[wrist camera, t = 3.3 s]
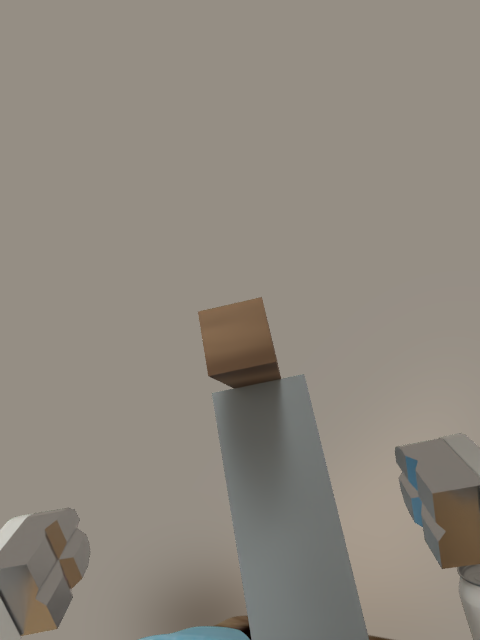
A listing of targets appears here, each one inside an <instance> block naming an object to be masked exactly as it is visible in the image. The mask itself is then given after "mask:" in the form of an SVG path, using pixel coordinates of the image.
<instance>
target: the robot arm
mask: <svg viewBox="0 0 480 640" xmlns="http://www.w3.org/2000/svg"><path fill="white" fill-rule="evenodd" d="M395 456H396V462H397V464H398V465H399V467H400V468H401V470H402V473H401V475H400V477H399V482H400V487H401V492H402V495H403V498H404V502H405V504H406V506H407V508H408V511H409V513H410V515H411V517H412V518H413V520H414V522H415V523H417V524H419V525H420V526H422V527H423V531H424V537H425V541H426V543H427V544H428V546H429V548H430V549H431V551H432V553H433V554H434V556H435V558H436V560H437V561H438V563H439V565H440V566H441V568H442V569H445V568H452V567H461V566H469V565H477V564H480V447H478V446H477V445H476V444H475V443H474V442H473V441H472V440H471V439H469V438H468V437H467V436H466V435H465V434H462V433H459V434H454V435H449V436H444V437H440V438H439V439H434V440H429V441H424V442H418V443H413V444H408V445H403V446H398V447H396V448H395ZM79 521H80V519H79V517H78V515H77V513H76V511H75V509H71V508H64V509H58V510H51V511H45V512H39V513H34V514H28V515H23V516H17V517H15V518H12V519H10V520H9V521H8V522H7V523H6V524H5V525H4V527H3V528H2V529H1V530H0V640H20V639H21V636H23V635H29V634H34V633H38V632H43V631H49V630H54V629H57V628H58V627H59V625H60V623H61V621H62V619H63V617H64V614H65V613H66V610H67V609H68V606H69V604H70V602H71V600H72V598H73V596H72V588H73V587H74V586H75V585H76V584H77V583H78V582H79V581H80V580H81V579H82V578H83V576H84V573H85V571H86V569H87V567H88V563H89V557H90V546H89V541H88V538H87V536H86V534H85V533H83V532H82V531H80V530H79V529H78V528H77V527H78V524H79Z"/></svg>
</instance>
